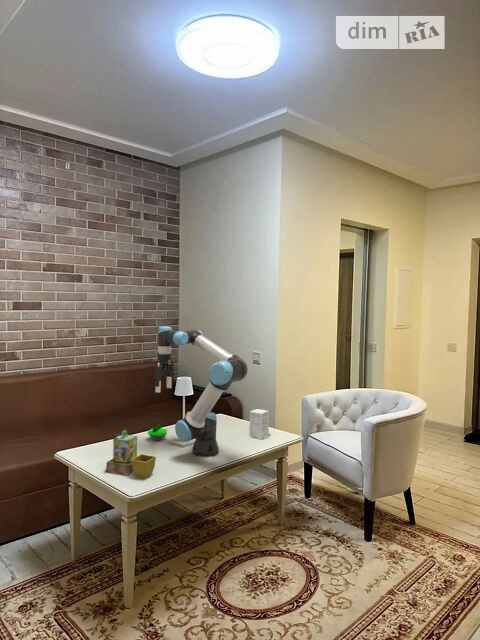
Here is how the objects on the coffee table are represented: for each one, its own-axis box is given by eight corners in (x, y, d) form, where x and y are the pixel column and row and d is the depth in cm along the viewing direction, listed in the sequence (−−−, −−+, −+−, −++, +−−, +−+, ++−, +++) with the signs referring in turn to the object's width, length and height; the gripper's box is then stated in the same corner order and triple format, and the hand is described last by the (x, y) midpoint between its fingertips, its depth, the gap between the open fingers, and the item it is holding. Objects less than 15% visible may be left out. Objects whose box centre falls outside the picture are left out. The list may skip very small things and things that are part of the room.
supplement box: (268, 436, 287) (269, 410, 287) (261, 439, 280) (262, 413, 279) (256, 433, 293) (256, 408, 292) (248, 437, 285) (249, 411, 284)
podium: (142, 466, 230) (142, 457, 230) (129, 475, 217) (129, 465, 217) (120, 463, 234) (121, 453, 234) (106, 472, 221) (106, 462, 221)
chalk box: (129, 463, 220) (129, 434, 219) (112, 461, 222) (112, 432, 221) (137, 457, 229) (138, 429, 228) (121, 455, 231) (122, 427, 230)
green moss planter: (163, 443, 268) (163, 425, 267) (144, 441, 270) (145, 423, 269) (169, 437, 279) (170, 420, 279) (152, 435, 281) (152, 418, 281)
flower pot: (130, 477, 216) (131, 459, 215) (140, 471, 224) (141, 453, 223) (146, 480, 213) (146, 462, 212) (155, 474, 221) (156, 456, 220)
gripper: (168, 350, 267) (167, 385, 268) (147, 355, 244) (146, 393, 245) (179, 351, 265) (178, 386, 266) (160, 356, 241) (159, 394, 242)
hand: (163, 390), depth 255 cm, fingers open, 13 cm apart
